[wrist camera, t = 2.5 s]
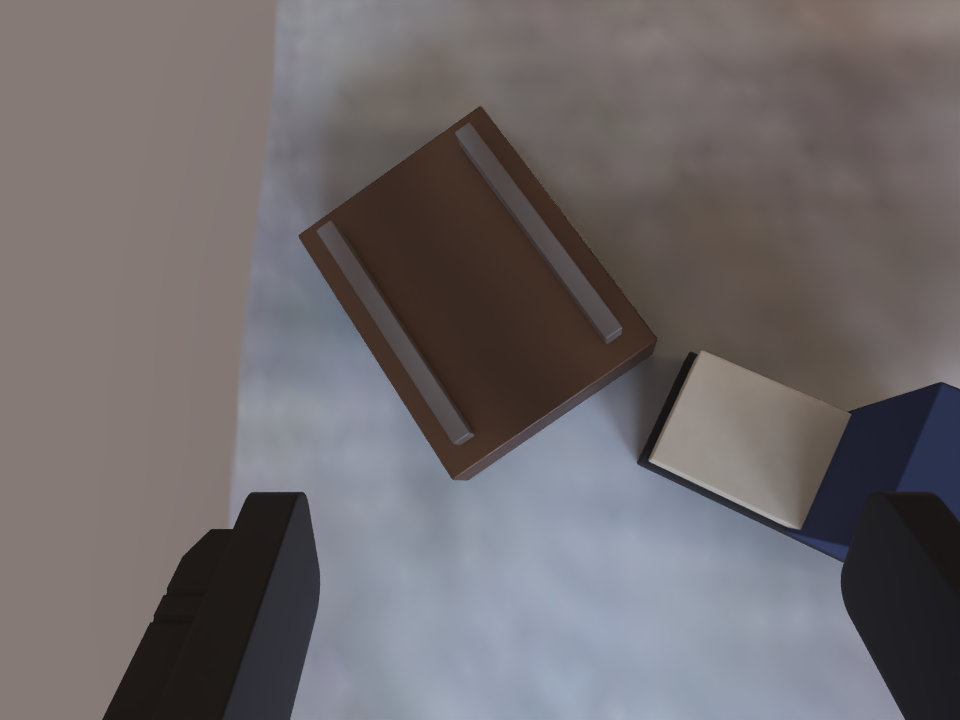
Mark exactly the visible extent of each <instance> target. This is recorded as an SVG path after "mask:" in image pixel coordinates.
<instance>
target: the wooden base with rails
mask: <svg viewBox="0 0 960 720" xmlns="http://www.w3.org/2000/svg"><path fill="white" fill-rule="evenodd" d="M299 239H300V240H301V242H302V243H303V245H304V247H305V248H306V250H307V251H308V253H309V254H310V256H311V258H312V259H313V261H314V262H315V264H316V265H317V267H318V269H319V270H320V272H321V273H322V275H323V276H324V278H325V280H326V281H327V283H328V284H329V286H330V288H331V289H332V291H333V292H334V294H335V295H336V297H337V299H338V300H339V302H340V303H341V305H342V306H343V308H344V310H345V311H346V313H347V314H348V316H349V317H350V319H351V321H352V322H353V324H354V325H355V327H356V329H357V330H358V332H359V333H360V335H361V336H362V338H363V340H364V341H365V343H366V344H367V346H368V347H369V349H370V351H371V352H372V354H373V355H374V357H375V358H376V360H377V362H378V363H379V365H380V366H381V368H382V370H383V371H384V373H385V374H386V376H387V377H388V379H389V381H390V382H391V384H392V385H393V387H394V388H395V390H396V392H397V393H398V395H399V396H400V398H401V400H402V401H403V403H404V404H405V406H406V407H407V409H408V411H409V412H410V414H411V415H412V417H413V418H414V420H415V422H416V423H417V425H418V426H419V428H420V429H421V431H422V433H423V434H424V436H425V437H426V439H427V441H428V442H429V444H430V445H431V447H432V448H433V450H434V452H435V453H436V455H437V456H438V458H439V459H440V461H441V463H442V464H443V466H444V467H445V469H446V470H447V472H448V474H449V475H450V477H451V478H452V479H453V480H466V481H467V480H469V479H471V478H472V477H473V476H475V475H476V474H478V473H479V472H481V471H482V470H484V469H485V468H487V467H488V466H490V465H491V464H492V463H494V462H495V461H497V460H498V459H500V458H501V457H503V456H504V455H506V454H507V453H508V452H510V451H511V450H513V449H514V448H516V447H517V446H519V445H520V444H522V443H523V442H525V441H526V440H527V439H529V438H530V437H532V436H533V435H535V434H536V433H538V432H539V431H541V430H542V429H544V428H545V427H546V426H548V425H549V424H551V423H552V422H554V421H555V420H557V419H558V418H560V417H561V416H563V415H564V414H565V413H567V412H568V411H570V410H571V409H573V408H574V407H576V406H577V405H579V404H580V403H582V402H583V401H584V400H586V399H587V398H589V397H590V396H592V395H593V394H595V393H596V392H598V391H599V390H601V389H602V388H603V387H605V386H606V385H608V384H609V383H611V382H612V381H614V380H615V379H617V378H618V377H620V376H621V375H622V374H624V373H625V372H627V371H628V370H630V369H631V368H633V367H634V366H636V365H637V364H639V363H640V362H641V361H643V360H644V359H646V358H647V357H649V356H650V355H652V354H653V351H654V348H655V345H656V342H657V338H656V336H655V335H654V334H653V332H652V331H651V330H650V328H649V327H648V326H647V324H646V323H645V322H644V320H643V319H642V318H641V316H640V315H639V314H638V312H637V311H636V310H635V309H634V307H633V306H632V305H631V303H630V302H629V301H628V299H627V298H626V297H625V295H624V294H623V293H622V291H621V290H620V289H619V287H618V286H617V285H616V283H615V282H614V281H613V279H612V278H611V277H610V276H609V274H608V273H607V272H606V270H605V269H604V268H603V266H602V265H601V264H600V262H599V261H598V260H597V258H596V257H595V256H594V254H593V253H592V252H591V250H590V249H589V248H588V246H587V245H586V244H585V242H584V241H583V240H582V239H581V237H580V236H579V235H578V233H577V232H576V231H575V229H574V228H573V227H572V225H571V224H570V223H569V221H568V220H567V219H566V217H565V216H564V215H563V213H562V212H561V211H560V209H559V208H558V207H557V206H556V204H555V203H554V202H553V200H552V199H551V198H550V196H549V195H548V194H547V192H546V191H545V190H544V188H543V187H542V186H541V184H540V183H539V182H538V180H537V179H536V178H535V176H534V175H533V174H532V172H531V171H530V170H529V169H528V167H527V166H526V165H525V163H524V162H523V161H522V159H521V158H520V157H519V155H518V154H517V153H516V151H515V150H514V149H513V147H512V146H511V145H510V143H509V142H508V141H507V139H506V138H505V137H504V135H503V134H502V133H501V132H500V130H499V129H498V128H497V126H496V125H495V124H494V122H493V121H492V120H491V118H490V117H489V116H488V114H487V113H486V112H485V110H484V109H483V108H482V107H481V106H480V107H478V108H477V109H475V110H474V111H473V112H471V113H470V114H468V115H467V116H466V117H464V118H463V119H461V120H460V121H459V122H457V123H456V124H454V125H453V126H452V127H450V128H449V129H447V130H446V131H444V132H443V133H442V134H440V135H439V136H437V137H436V138H435V139H433V140H432V141H430V142H429V143H428V144H426V145H425V146H423V147H422V148H421V149H419V150H418V151H416V152H415V153H414V154H412V155H411V156H409V157H408V158H407V159H405V160H404V161H402V162H401V163H400V164H398V165H397V166H395V167H394V168H392V169H391V170H390V171H388V172H387V173H385V174H384V175H383V176H381V177H380V178H378V179H377V180H376V181H374V182H373V183H371V184H370V185H369V186H367V187H366V188H364V189H363V190H362V191H360V192H359V193H357V194H356V195H355V196H353V197H352V198H350V199H349V200H347V201H346V202H345V203H343V204H342V205H340V206H339V207H338V208H336V209H335V210H333V211H332V212H331V213H329V214H328V215H326V216H325V217H324V218H322V219H321V220H319V221H318V222H317V223H315V224H314V225H312V226H311V227H310V228H308V229H307V230H305V231H304V232H303V233H301V234H300V235H299Z"/></svg>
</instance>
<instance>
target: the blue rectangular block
mask: <svg viewBox="0 0 960 720" xmlns="http://www.w3.org/2000/svg"><path fill="white" fill-rule="evenodd" d="M637 464H638V465H640V466H642V467H644V468H646V469H649V470H651V471H653V472H655V473H657V474H659V475H661V476H663V477H665V478H667V479H669V480H672V481H674V482H676V483H678V484H680V485H682V486H684V487H686V488H688V489H690V490H692V491H695V492H697V493H699V494H701V495H703V496H705V497H707V498H709V499H711V500H713V501H716V502H718V503H720V504H722V505H724V506H726V507H728V508H730V509H732V510H734V511H736V512H739V513H741V514H743V515H745V516H747V517H749V518H751V519H753V520H755V521H757V522H760V523H762V524H764V525H766V526H768V527H770V528H772V529H774V530H776V531H778V532H780V533H783V534H785V535H787V536H789V537H791V538H793V539H795V540H797V541H799V542H801V543H804V544H806V545H808V546H810V547H812V548H814V549H816V550H818V551H820V552H822V553H824V554H827V555H829V556H831V557H833V558H835V559H837V560H839V561H841V562H843V563H844V561H845V558H846V555H847V552H848V550H849V547H850V544H851V541H852V538H853V535H854V532H855V529H856V526H857V523H858V520H859V517H860V514H861V511H862V508H863V505H864V502H865V500H866V498H867V497H868V496H869V495H870V494H871V493H873V492H932V493H934V494H936V495H937V496H938V497H940V498H941V500H942V501H943V502H944V503H945V504H946V505H947V507H948V508H949V509H950V510H951V512H952V513H953V514H954V515H955V516H956V518H957V519H958V520H959V521H960V389H958V388H955V387H953V386H951V385H948V384H946V383H943V382H939V383H936V384H933V385H930V386H927V387H924V388H921V389H918V390H914V391H911V392H908V393H905V394H902V395H899V396H896V397H892V398H889V399H886V400H883V401H880V402H877V403H874V404H871V405H867V406H864V407H861V408H858V409H855V410H852V411H849V412H846V411H843V410H841V409H839V408H836V407H834V406H832V405H829V404H827V403H825V402H822V401H820V400H818V399H815V398H813V397H811V396H809V395H806V394H804V393H802V392H799V391H797V390H795V389H792V388H790V387H788V386H785V385H783V384H781V383H778V382H776V381H774V380H771V379H769V378H767V377H764V376H762V375H760V374H757V373H755V372H753V371H750V370H748V369H746V368H743V367H741V366H739V365H736V364H734V363H732V362H729V361H727V360H725V359H722V358H720V357H718V356H715V355H713V354H711V353H708V352H706V351H704V350H701V351H700V353H699V354H695V353H693V352H690V353H689V354H688V356H687V357H686V359H685V361H684V363H683V365H682V367H681V369H680V372H679V374H678V376H677V378H676V380H675V382H674V384H673V387H672V389H671V391H670V393H669V395H668V397H667V400H666V402H665V404H664V406H663V408H662V410H661V412H660V415H659V417H658V419H657V421H656V423H655V425H654V428H653V430H652V432H651V434H650V436H649V438H648V440H647V443H646V445H645V447H644V449H643V451H642V453H641V456H640V458H639V460H638V462H637Z"/></svg>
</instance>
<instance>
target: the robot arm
mask: <svg viewBox="0 0 960 720" xmlns="http://www.w3.org/2000/svg"><path fill="white" fill-rule="evenodd" d="M841 590H842V596H843V600H844V604H845V607H846V610H847V612H848V614H849V616H850V618H851V620H852V622H853V624H854V625H855V627H856V629H857V631H858V633H859V635H860V637H861V638H862V640H863V642H864V644H865V646H866V648H867V650H868V651H869V653H870V655H871V657H872V659H873V661H874V663H875V664H876V666H877V668H878V670H879V672H880V674H881V676H882V677H883V679H884V681H885V683H886V685H887V687H888V689H889V690H890V692H891V694H892V696H893V698H894V700H895V702H896V703H897V705H898V707H899V709H900V711H901V713H902V715H903V716H904V718H905V720H960V521H959V520H958V519H957V518H956V516H955V515H954V514H953V513H952V512H951V510H950V509H949V508H948V507H947V505H946V504H945V503H944V502H943V501H942V500H941V498H940V497H938V496H937V495H936V494H934V493H932V492H873V493H871V494H870V495H869V496H868V497H867V498H866V500H865V502H864V505H863V508H862V511H861V514H860V517H859V520H858V523H857V526H856V529H855V532H854V535H853V538H852V541H851V544H850V547H849V550H848V552H847V555H846V558H845V561H844V564H843V568H842V573H841ZM319 594H320V570H319V563H318V557H317V551H316V545H315V540H314V534H313V528H312V522H311V516H310V510H309V504H308V500H307V497H306V495H305V493H303V492H252V493H250V494H249V495H248V496H247V498H246V500H245V502H244V504H243V507H242V509H241V511H240V514H239V516H238V518H237V521H236V523H235V525H234V528H233V529H211V530H210V531H209V532H208V533H207V534H206V535H204V536H203V537H202V538H201V540H199V541H198V542H197V543H196V544H195V545H194V546H193V547H192V548H191V549H190V550H189V551H188V552H187V553H186V554H185V555H184V556H183V557H182V559H181V561H180V563H179V565H178V567H177V569H176V571H175V573H174V576H173V577H172V579H171V581H170V583H169V585H168V587H167V594H166V595H164V596H163V598H162V600H161V602H160V604H159V606H158V608H157V610H156V612H155V614H154V621H153V622H151V623H150V624H149V626H148V628H147V630H146V632H145V634H144V637H143V638H142V640H141V642H140V644H139V646H138V648H137V650H136V652H135V654H134V657H133V658H132V660H131V662H130V664H129V667H128V669H127V671H126V673H125V675H124V677H123V679H122V681H121V683H120V685H119V687H118V689H117V691H116V693H115V695H114V697H113V699H112V701H111V703H110V705H109V707H108V709H107V711H106V713H105V715H104V718H103V719H102V720H290V717H291V713H292V709H293V705H294V701H295V697H296V693H297V689H298V686H299V682H300V678H301V674H302V670H303V666H304V662H305V658H306V654H307V650H308V646H309V642H310V638H311V634H312V630H313V626H314V622H315V618H316V614H317V609H318V603H319Z"/></svg>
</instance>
